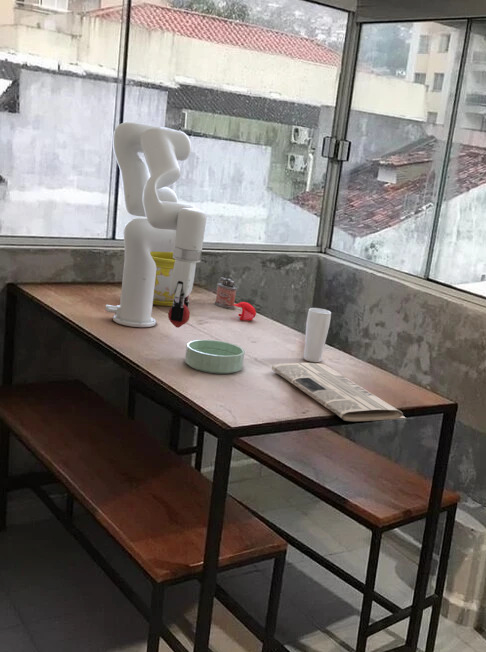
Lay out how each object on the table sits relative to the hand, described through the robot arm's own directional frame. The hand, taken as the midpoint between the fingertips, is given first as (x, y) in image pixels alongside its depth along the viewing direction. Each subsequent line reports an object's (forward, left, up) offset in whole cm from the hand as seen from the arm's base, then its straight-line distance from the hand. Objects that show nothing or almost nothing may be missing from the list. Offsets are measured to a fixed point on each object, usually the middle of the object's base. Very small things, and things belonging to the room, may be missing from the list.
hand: (178, 317), depth 225 cm
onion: (0, 0, -3) cm, 3 cm away
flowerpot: (-15, +55, -9) cm, 58 cm away
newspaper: (+46, -21, -9) cm, 51 cm away
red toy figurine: (+14, +48, -9) cm, 51 cm away
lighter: (+5, +64, -9) cm, 65 cm away
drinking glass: (+39, +9, -9) cm, 41 cm away
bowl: (+13, -12, -9) cm, 19 cm away
